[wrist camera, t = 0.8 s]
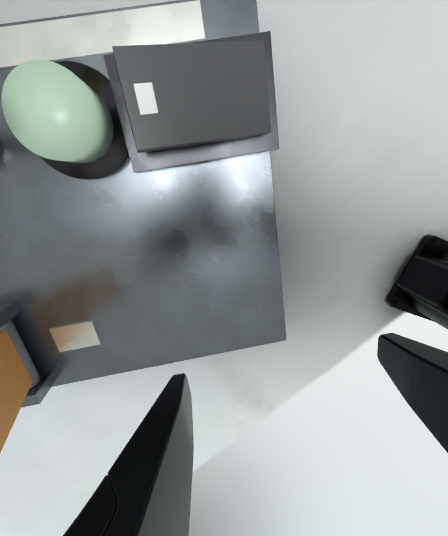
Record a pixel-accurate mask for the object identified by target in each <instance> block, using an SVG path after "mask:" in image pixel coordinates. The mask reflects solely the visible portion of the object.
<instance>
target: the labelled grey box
mask: <svg viewBox="0 0 448 536" xmlns="http://www.w3.org/2000/svg"><path fill="white" fill-rule="evenodd" d="M112 49H113V55H114V60H115V64H116V69H117V73H118V77H119V81H120V85H121V89H122V93H123V97H124V101H125V105H126V109H127V113H128V117H129V121H130V125H131V129H132V133H133V137H134V141H135V145H136V149H137V153H142V152H149V151H157V150H164V149H171V148H179V147H186V146H193V145H200V144H208V143H215V142H222V141H230V140H237V139H244V138H252V137H259V136H263V135H266V134H268V133H271V121H270V109H269V97H268V85H267V73H266V61H265V49H264V40H257V41H232V42H206V43H181V44H155V45H130V46H112Z"/></svg>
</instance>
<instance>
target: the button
mask: <svg viewBox="0 0 448 536" xmlns="http://www.w3.org/2000/svg"><path fill="white" fill-rule="evenodd" d="M1 101H2V109H3V113H4V116H5V119H6V122H7V124H8V126H9V128H10V129H11V131H12V133H13V134H14V135H15V137H16V138H17V139H18V140H19V141H20V142H21V143H22V144H23V145H24V146H25V147H26V148H27V149H29V150H30V151H32V152H33V153H35V154H37V155H39V156H41V157H44V158H47V159H51V160H58V161H66V162H75V163H89V162H93V161H95V160H97V159H99V158H101V157H102V156H103V155H104V154H105V153H106V152H107V150H108V149H109V147H110V145H111V143H112V139H113V133H114V127H113V120H112V116H111V113H110V111H109V109H108V107H107V105H106V104H105V102H104V101H103V99H102V98H101V97H100V96H99V95H98V94H97V93H96V92H95V91H94V90H92V89H91V88H90V87H89V86H88V85H86V84H85V83H84V82H83V81H82V80H81V79H79V78H78V77H77V76H76V75H75V74H74V73H72V72H71V71H70V70H68V69H67V68H65V67H63V66H62V65H60V64H57V63H55V62H52V61H47V60H30V61H26V62H24V63H21V64H20V65H18V66H16V67H15V68H14V69H13V70H12V71H11V72H10V73H9V75H8V76H7V78H6V80H5V82H4V85H3V89H2V98H1Z"/></svg>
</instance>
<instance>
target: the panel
mask: <svg viewBox="0 0 448 536" xmlns="http://www.w3.org/2000/svg"><path fill="white" fill-rule="evenodd" d="M257 40H264V49H265V61H266V73H267V85H268V97H269V109H270V121H271V133H268V134H266V135H263V136H259V137H252V138H244V139H237V140H230V141H222V142H215V143H208V144H200V145H193V146H186V147H179V148H171V149H164V150H157V151H149V152H142V153H137V149H136V145H135V141H134V137H133V133H132V129H131V125H130V121H129V117H128V113H127V109H126V105H125V101H124V97H123V93H122V89H121V85H120V81H119V77H118V73H117V69H116V64H115V60H114V55H113V49H112V46H130V45H155V44H181V43H206V42H232V41H257ZM30 60H47V61H52V62H55V63H57V64H60V65H62V66H63V67H65V68H67V69H68V70H70V71H71V72H72V73H74V74H75V75H76V76H77V77H78V78H79V79H81V80H82V81H83V82H84V83H85V84H86V85H88V86H89V87H90V88H91V89H92V90H94V91H95V92H96V93H97V94H98V95H99V96H100V97H101V98H102V99H103V101H104V102H105V104H106V105H107V107H108V109H109V111H110V113H111V116H112V120H113V127H114V133H113V139H112V143H111V145H110V147H109V149H108V150H107V152H106V153H105V154H104V155H103V156H102V157H101V158H99V159H97V160H95V161H93V162H89V163H75V162H66V161H58V160H51V159H47V158H44V157H41V156H39V155H37V154H35V153H33V152H32V151H30V150H29V149H27V148H26V147H25V146H24V145H23V144H22V143H21V142H20V141H19V140H18V139H17V138H16V137H15V135H14V134H13V133H12V131H11V129H10V128H9V126H8V124H7V122H6V119H5V116H4V113H3V109H2V101H1V98H2V89H3V85H4V82H5V80H6V78H7V76H8V75H9V73H10V72H11V71H12V70H13V69H14V68H15V67H16V66H18V65H20V64H21V63H24V62H26V61H30ZM277 149H279V140H278V127H277V114H276V101H275V88H274V75H273V61H272V48H271V35H270V31H268V32H261V33H259V24H258V13H257V1H256V0H178V1H170V2H163V3H156V4H148V5H141V6H133V7H126V8H118V9H111V10H104V11H96V12H89V13H81V14H74V15H67V16H59V17H52V18H44V19H37V20H29V21H22V22H15V23H7V24H0V327H1V326H3V325H4V324H5V323H7V322H8V321H9V320H10V319H11V320H12V322H13V324H14V326H15V328H16V330H17V332H18V334H19V336H20V338H21V340H22V342H23V344H24V346H25V348H26V350H27V352H28V354H29V356H30V358H31V360H32V362H33V364H34V366H35V368H36V370H37V372H38V374H39V376H40V378H41V379H40V381H39V382H38V384H37V385H35V386H34V387H33V388H31V389H29V391H28V393H27V395H26V397H25V399H24V402H23V404H22V406H21V407H26V406H31V405H36V404H40V403H41V401H42V400H43V398H44V397H45V395H46V394H47V392H48V391H49V389H50V388H51V387H53V386H58V385H63V384H68V383H73V382H78V381H83V380H88V379H93V378H98V377H103V376H108V375H113V374H118V373H123V372H128V371H133V370H138V369H143V368H148V367H153V366H158V365H163V364H168V363H173V362H178V361H183V360H188V359H193V358H198V357H203V356H208V355H213V354H218V353H223V352H228V351H233V350H238V349H243V348H248V347H253V346H258V345H263V344H268V343H273V342H278V341H283V340H286V332H285V321H284V309H283V298H282V287H281V275H280V264H279V252H278V241H277V230H276V218H275V207H274V195H273V184H272V172H271V161H270V151H273V150H277Z"/></svg>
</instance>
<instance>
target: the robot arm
mask: <svg viewBox="0 0 448 536" xmlns="http://www.w3.org/2000/svg"><path fill="white" fill-rule="evenodd" d="M430 240H431V242H430ZM429 242H430V243H429ZM393 300H394V301H393ZM392 301H393V302H392ZM386 302H387V304H388V305H390V306H391V307H394V308H397V309H400V310H402V311H405V312H408V313H411V314H414V315H417V316H420V317H423V318H426V319H429V320H432V321H434V322H437V323H438V324H440V325H442V326H443V327H445V328H447V329H448V241H445V240H443V239H441V238H439V237H436V236H433V235H427V236H426V237H425V238H424V239H423V240H422V242H421V244H420V245H419V247H418V249H417V250H416V252H415V253H414V255H413V257H412V258H411V260H410V262H409V263H408V265H407V266H406V268H405V270H404V271H403V273H402V275H401V276H400V278H399V280H398V281H397V283H396V284H395V286H394V288H393V289H392V291H391V293H390V294H389V296H388V297H387V300H386ZM377 354H378V359H379V361H380V363H381V365H382V366H383V367H384V369H385V370H386V372H387V373H388V375H389V376H390V378H391V379H392V381H393V382H394V384H395V385H396V387H397V388H398V390H399V391H400V393H401V394H402V396H403V397H404V398H405V400H406V402H407V403H408V404H409V406H410V407H411V408H412V409H413V411H414V412H415V413H416V414H417V416H418V417H419V418H420V419H421V421H422V422H423V423H424V424H425V426H426V427H427V428H428V429H429V430H430V432H431V433H432V434H433V435H434V437H435V438H436V439H437V440H438V442H439V443H440V444H441V445H442V446H443V448H444V449H445V450H446V451H447V452H448V352H445V351H442V350H440V349H437V348H434V347H431V346H428V345H425V344H423V343H420V342H417V341H414V340H411V339H408V338H405V337H402V336H400V335H397V334H394V333H388V334H383V335H380V336H379V338H378V353H377ZM193 448H194V446H193V421H192V400H191V392H190V388H189V384H188V380H187V377H186V374H184V373H182V374H177V375H173V376H172V378H171V379H170V381H169V382H168V384H167V385H166V387H165V388H164V390H163V391H162V393H161V394H160V395H159V397H158V398H157V400H156V401H155V403H154V404H153V406H152V407H151V409H150V410H149V412H148V413H147V415H146V416H145V418H144V419H143V421H142V422H141V424H140V425H139V427H138V428H137V430H136V431H135V433H134V434H133V436H132V437H131V439H130V440H129V442H128V443H127V445H126V446H125V448H124V449H123V451H122V452H121V454H120V455H119V457H118V458H117V460H116V461H115V463H114V464H113V466H112V467H111V469H110V470H109V472H108V475H106V476H105V478H104V479H103V480H102V482H101V483H100V485H99V486H98V488H97V489H96V491H95V492H94V494H93V495H92V497H91V498H90V500H89V501H88V502H87V504H86V505H85V507H84V508H83V510H82V511H81V512H80V514H79V515H78V516H77V518H76V519H75V520H74V522H73V523H72V524H71V526H70V527H69V528H68V530H67V531H66V532H65V534H64V535H63V536H188V534H189V517H190V502H191V485H192V484H191V483H192V469H193Z"/></svg>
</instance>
